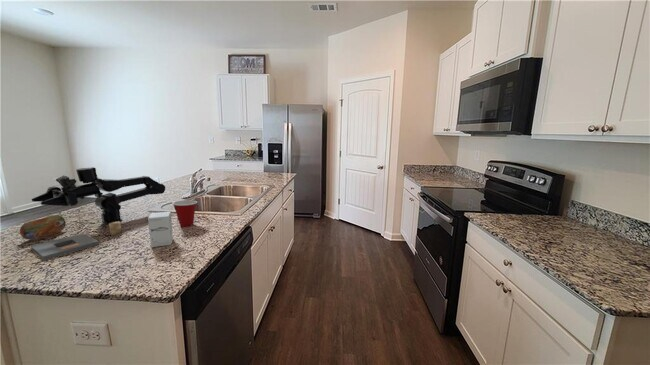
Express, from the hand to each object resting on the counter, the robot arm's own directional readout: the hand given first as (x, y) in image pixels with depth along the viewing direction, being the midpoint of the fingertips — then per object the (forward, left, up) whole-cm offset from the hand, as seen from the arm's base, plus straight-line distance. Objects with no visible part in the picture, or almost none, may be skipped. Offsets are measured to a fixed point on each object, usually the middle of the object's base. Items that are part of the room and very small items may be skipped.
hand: (36, 201), depth 110 cm
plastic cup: (-43, +34, -17) cm, 57 cm away
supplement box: (-25, +46, -17) cm, 55 cm away
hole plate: (-2, +18, -16) cm, 24 cm away
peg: (-19, +18, -16) cm, 31 cm away
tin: (-1, -4, -17) cm, 17 cm away
